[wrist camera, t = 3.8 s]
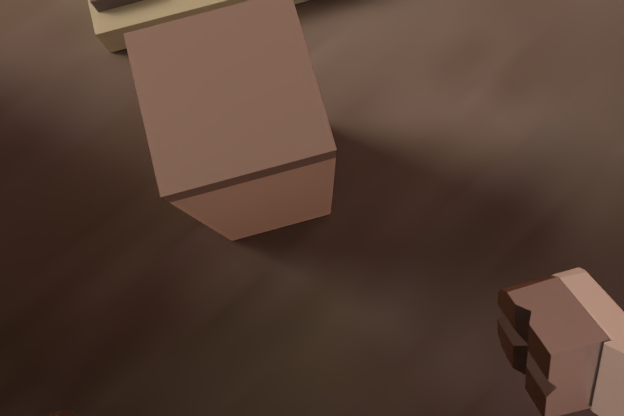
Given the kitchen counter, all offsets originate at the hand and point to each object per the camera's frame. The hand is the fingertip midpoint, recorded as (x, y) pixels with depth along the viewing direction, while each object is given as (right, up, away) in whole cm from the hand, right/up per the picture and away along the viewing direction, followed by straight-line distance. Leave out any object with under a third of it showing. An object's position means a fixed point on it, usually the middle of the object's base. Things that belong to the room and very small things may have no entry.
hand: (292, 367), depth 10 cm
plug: (-1, +4, +11) cm, 12 cm away
